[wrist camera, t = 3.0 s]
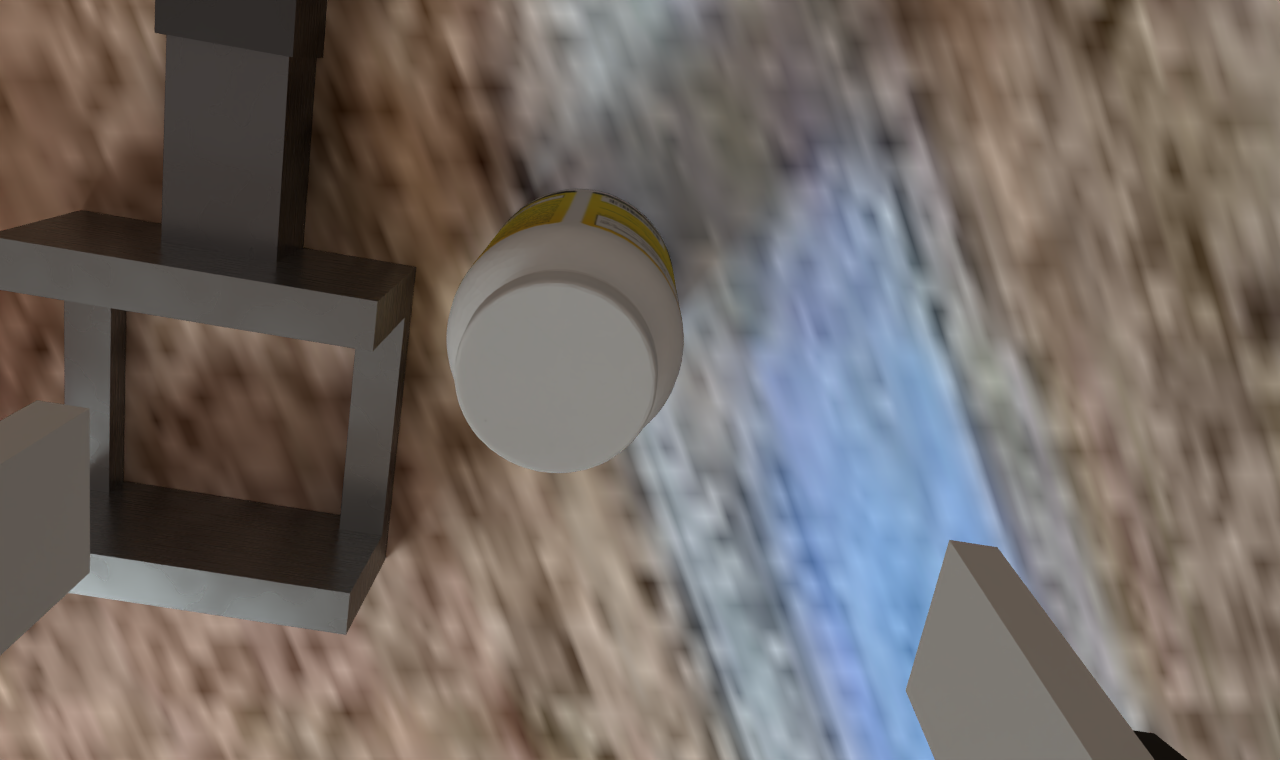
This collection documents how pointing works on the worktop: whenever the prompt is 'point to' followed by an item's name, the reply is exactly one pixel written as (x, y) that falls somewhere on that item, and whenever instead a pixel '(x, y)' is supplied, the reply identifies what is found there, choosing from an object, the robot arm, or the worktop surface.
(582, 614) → the worktop surface
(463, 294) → the pill bottle
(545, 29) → the worktop surface
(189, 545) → the bracket
